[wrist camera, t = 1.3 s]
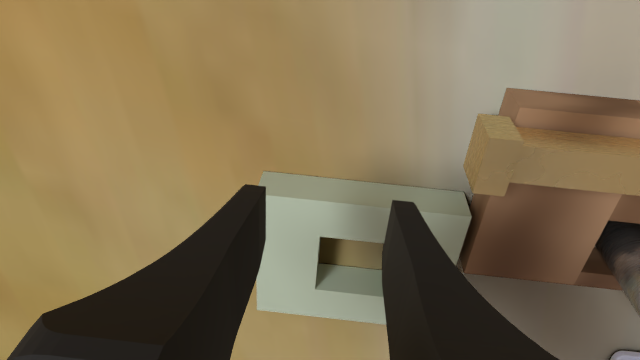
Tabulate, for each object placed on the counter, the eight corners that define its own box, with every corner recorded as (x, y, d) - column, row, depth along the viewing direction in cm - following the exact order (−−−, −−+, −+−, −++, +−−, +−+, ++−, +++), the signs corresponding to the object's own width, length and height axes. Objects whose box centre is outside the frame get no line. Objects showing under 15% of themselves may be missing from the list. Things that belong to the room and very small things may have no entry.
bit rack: (463, 191, 22) (471, 216, 21) (431, 302, 27) (435, 330, 25) (263, 171, 23) (255, 193, 21) (263, 283, 27) (257, 309, 26)
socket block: (747, 111, 19) (784, 132, 17) (647, 266, 24) (668, 295, 22) (506, 87, 19) (519, 107, 18) (457, 246, 24) (464, 273, 23)
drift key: (664, 131, 17) (695, 158, 16) (636, 183, 19) (662, 212, 17) (478, 113, 18) (489, 137, 16) (463, 165, 19) (472, 193, 17)
